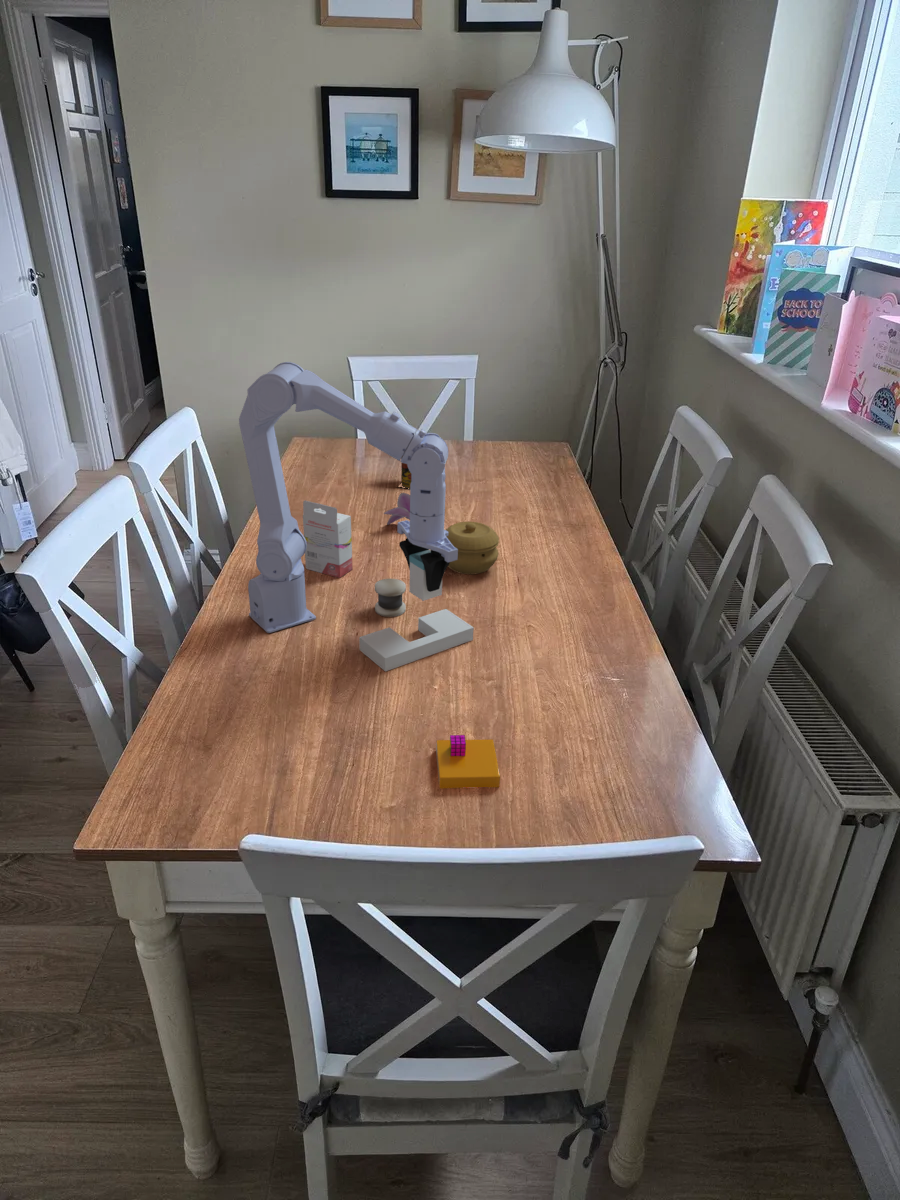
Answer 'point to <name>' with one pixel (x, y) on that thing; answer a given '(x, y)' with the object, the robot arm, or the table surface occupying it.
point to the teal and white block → (420, 578)
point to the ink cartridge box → (327, 539)
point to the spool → (390, 597)
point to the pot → (473, 547)
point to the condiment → (405, 475)
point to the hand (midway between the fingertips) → (425, 584)
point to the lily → (400, 509)
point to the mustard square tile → (467, 763)
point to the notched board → (397, 651)
